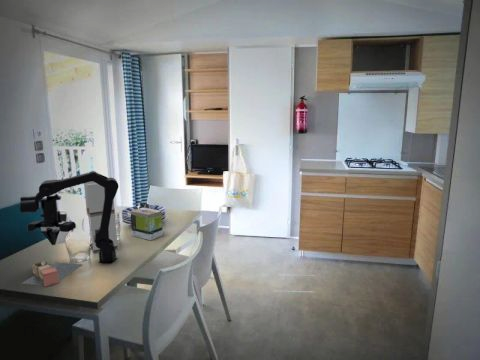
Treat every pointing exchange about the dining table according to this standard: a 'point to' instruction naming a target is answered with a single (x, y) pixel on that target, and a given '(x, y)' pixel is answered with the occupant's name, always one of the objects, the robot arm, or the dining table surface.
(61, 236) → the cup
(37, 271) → the link
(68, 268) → the base plate
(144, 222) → the tea box
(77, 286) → the dining table surface
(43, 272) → the keeper
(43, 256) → the dining table surface
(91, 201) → the tall white box
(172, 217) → the dining table surface
